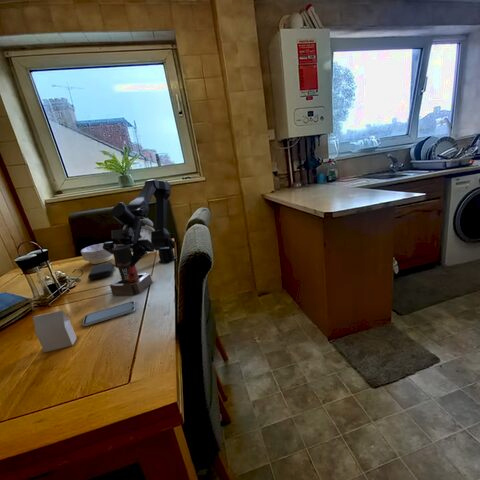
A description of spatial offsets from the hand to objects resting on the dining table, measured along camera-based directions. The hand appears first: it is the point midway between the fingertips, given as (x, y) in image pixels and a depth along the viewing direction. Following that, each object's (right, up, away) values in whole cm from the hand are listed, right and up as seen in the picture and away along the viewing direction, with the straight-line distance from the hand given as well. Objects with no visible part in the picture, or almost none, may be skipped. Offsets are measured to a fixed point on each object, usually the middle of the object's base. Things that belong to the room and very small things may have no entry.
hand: (124, 267), depth 104 cm
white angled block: (-4, -21, -27) cm, 35 cm away
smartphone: (+3, -15, -14) cm, 21 cm away
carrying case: (-22, -4, +25) cm, 33 cm away
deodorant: (+1, -7, +4) cm, 8 cm away
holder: (+1, -8, +4) cm, 10 cm away
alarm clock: (-12, +6, +47) cm, 49 cm away
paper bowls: (-35, +2, +45) cm, 57 cm away
